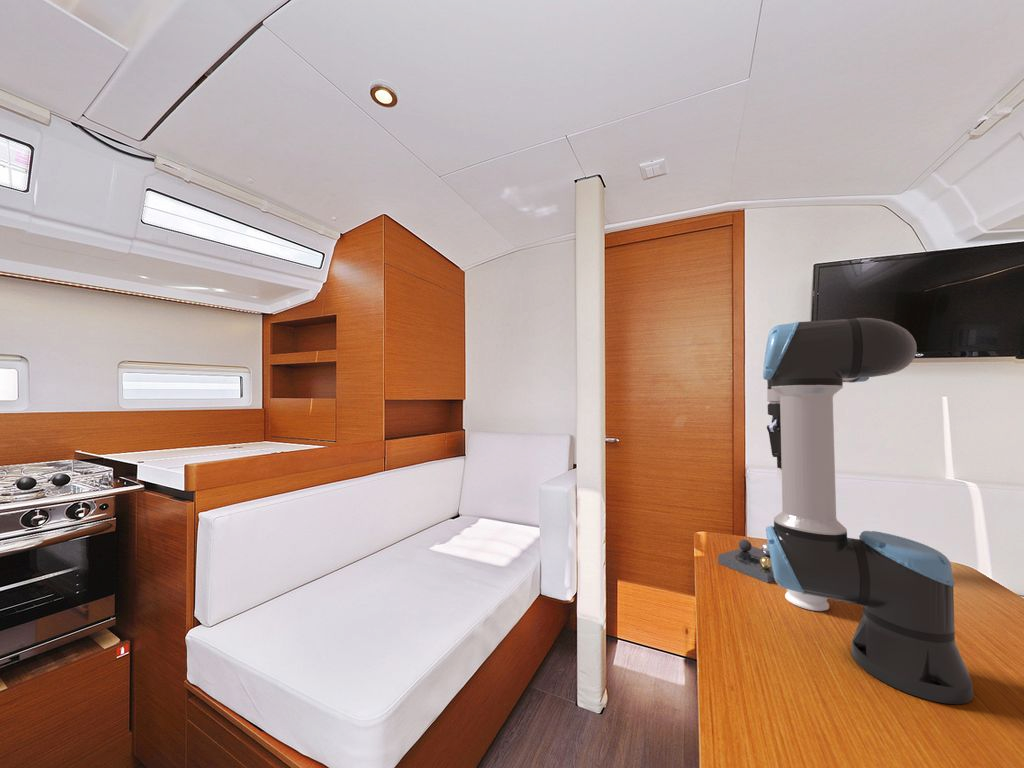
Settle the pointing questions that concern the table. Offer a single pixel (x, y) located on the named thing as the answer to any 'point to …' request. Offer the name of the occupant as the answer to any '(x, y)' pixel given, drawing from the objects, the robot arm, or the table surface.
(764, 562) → the brass ball
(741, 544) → the black ball
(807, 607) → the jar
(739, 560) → the plate
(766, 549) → the ball
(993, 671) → the table surface
